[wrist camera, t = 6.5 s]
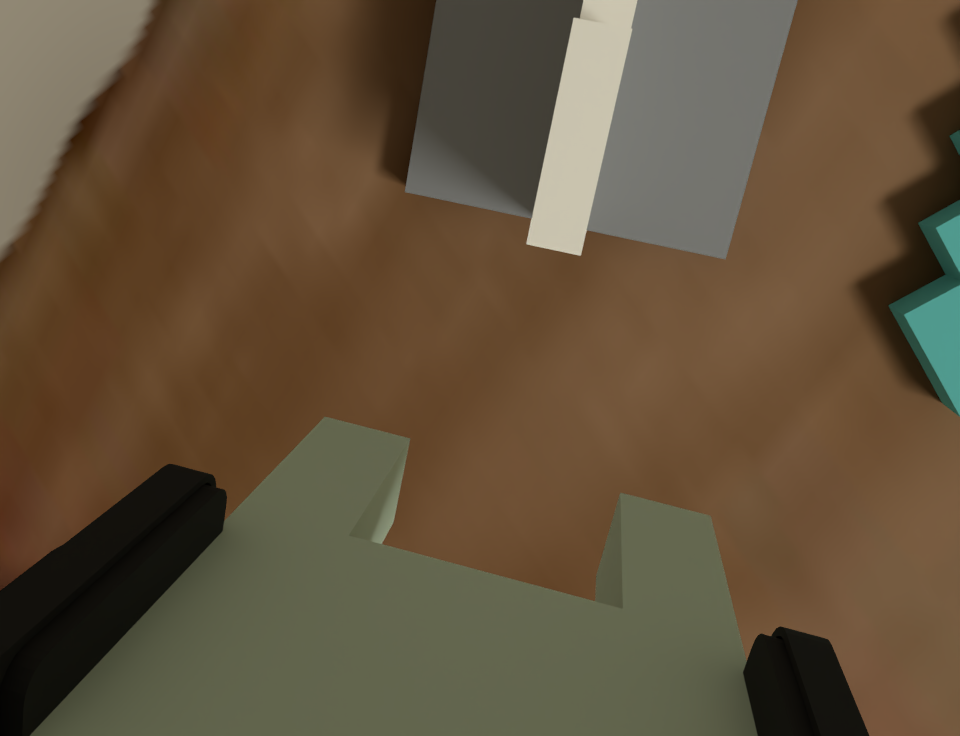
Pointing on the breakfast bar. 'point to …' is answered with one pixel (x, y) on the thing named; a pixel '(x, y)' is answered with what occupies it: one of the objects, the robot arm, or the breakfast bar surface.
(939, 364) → the alien figure
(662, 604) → the green slotted plate
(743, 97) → the stand
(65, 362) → the breakfast bar surface
